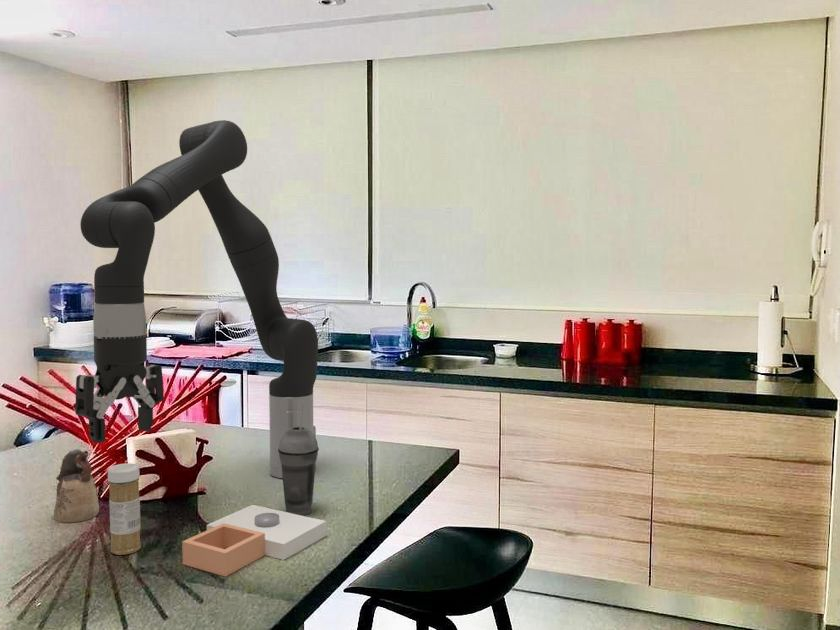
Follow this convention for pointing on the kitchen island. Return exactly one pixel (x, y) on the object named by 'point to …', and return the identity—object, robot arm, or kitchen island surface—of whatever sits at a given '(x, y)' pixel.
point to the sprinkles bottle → (124, 508)
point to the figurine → (76, 489)
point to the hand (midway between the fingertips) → (122, 436)
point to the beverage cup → (298, 468)
